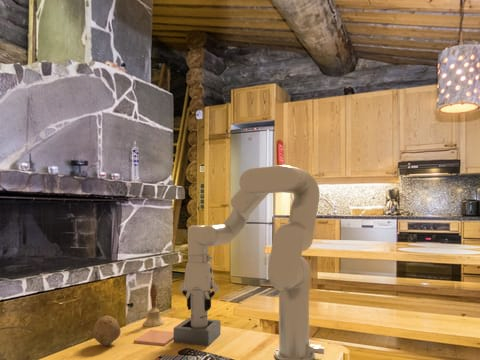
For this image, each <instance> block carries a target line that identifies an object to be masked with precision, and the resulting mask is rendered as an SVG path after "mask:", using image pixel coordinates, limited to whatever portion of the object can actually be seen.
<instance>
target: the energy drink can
mask: <svg viewBox="0 0 480 360" xmlns="http://www.w3.org/2000/svg"><path fill="white" fill-rule="evenodd" d="M205 300H206V295H205V293H204V291H202V290H201V289H200V288H199V287H194V288H193V289H192V290H191V309H190V318H191V326H192V328H202V329H205V328H206V326H207V325H208V311H206V310H205Z"/></svg>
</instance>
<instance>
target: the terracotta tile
mask: <svg viewBox="0 0 480 360" xmlns="http://www.w3.org/2000/svg"><path fill="white" fill-rule="evenodd" d="M173 339H174V331H169V330H167V331H166V330H157V329H149V330H148V331H147V332H145V333H143V334H141V335H139V336H138V337H136V338H135V339H134V340H133V343H135V344H143V345H153V346H167V345H169V343H171V342H172V341H173Z"/></svg>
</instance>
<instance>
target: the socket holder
mask: <svg viewBox="0 0 480 360" xmlns="http://www.w3.org/2000/svg"><path fill="white" fill-rule="evenodd" d="M173 332H174V339H173V340H172V341H173V343H174V344H182V343H183V345H194V346H205V347H209V346H210V345H211V344H212V343H213V342H214V341H215V340H216V339H217V338H218V337H219V336H220V335H221V320H220V319H208V325H207V326H206V328H205V329H202V328H192V326H191V317H187V318H185V320H182V322H180V323H179V324H177V325H175V326H174V327H173Z"/></svg>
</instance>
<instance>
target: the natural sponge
mask: <svg viewBox="0 0 480 360" xmlns="http://www.w3.org/2000/svg"><path fill="white" fill-rule="evenodd" d="M92 336H93V338H94V340H95V341H97V342H98V343H99V344H100V345H101V346H104V347H108V346H110V345H111V344H113V342H115V341H116V340H117V339H118V338H119V337H120V336H121V327H120V324H119V322H118V321H117V319H116V318H115V317H113V316H110V315H104V316H101V317H99V318H98V320H96V322H95V323H94V326H93V328H92Z"/></svg>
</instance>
